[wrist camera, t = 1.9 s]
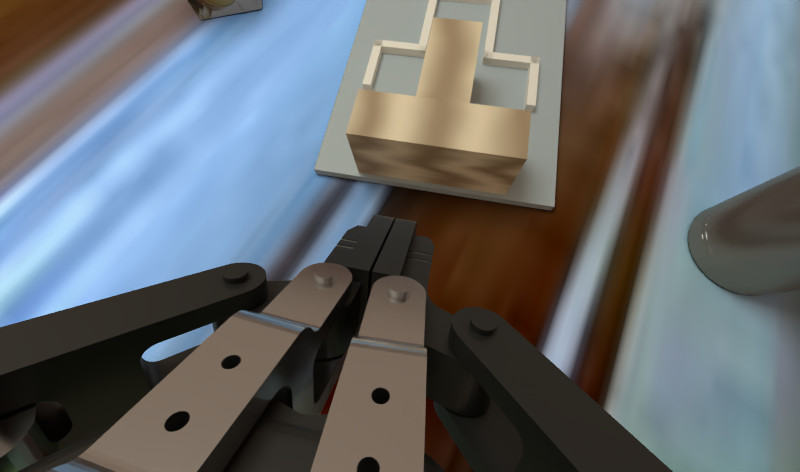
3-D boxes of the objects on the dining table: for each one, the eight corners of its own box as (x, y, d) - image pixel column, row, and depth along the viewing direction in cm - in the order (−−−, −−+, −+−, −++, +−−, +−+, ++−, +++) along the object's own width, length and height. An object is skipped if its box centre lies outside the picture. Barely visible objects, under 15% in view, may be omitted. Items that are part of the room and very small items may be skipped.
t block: (517, 81, 39) (538, 27, 32) (505, 194, 35) (527, 159, 28) (386, 66, 41) (381, 11, 34) (358, 172, 36) (345, 133, 30)
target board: (563, -5, 44) (570, -21, 43) (550, 210, 35) (558, 202, 33) (376, -22, 47) (375, -38, 45) (316, 173, 38) (311, 164, 36)
